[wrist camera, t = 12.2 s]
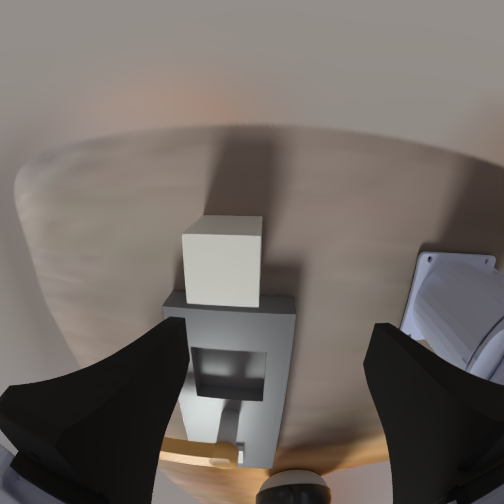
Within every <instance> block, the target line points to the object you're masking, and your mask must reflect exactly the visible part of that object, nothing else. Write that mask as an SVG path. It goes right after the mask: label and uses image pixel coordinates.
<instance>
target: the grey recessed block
mask: <svg viewBox="0 0 504 504" xmlns="http://www.w3.org/2000/svg"><path fill="white" fill-rule="evenodd" d="M162 308H163V316H164V320H165V319H167V318H168V317H170V316H172V317H182V318H185V320H186V330H187V338H188V347H189V355H190V362H189V366H188V371H187V375H186V379H185V382H184V385H183V387H182V390H181V392H180V395H179V398H178V399H179V403H180V408H181V412H182V416H183V420H184V424H185V428H186V432H187V436H188V440H189V441H195V442H205V443H217V442H227V443H231V444H234V445H236V446H237V447H238V448H239V457H238V465H237V467H243V468H263V469H272V467H273V462H274V457H275V451H276V446H277V441H278V435H279V430H280V424H281V418H282V412H283V406H284V400H285V394H286V387H287V380H288V374H289V367H290V359H291V352H292V344H293V336H294V328H295V320H296V310H295V304H294V299H293V297H283V296H259V307H239V306H220V305H204V304H190V303H187V298H186V291H175V290H173V291H172V292H171V294H170V295H169V297H168V298H167V300H166V301H165V303H164V304H163V306H162Z"/></svg>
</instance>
